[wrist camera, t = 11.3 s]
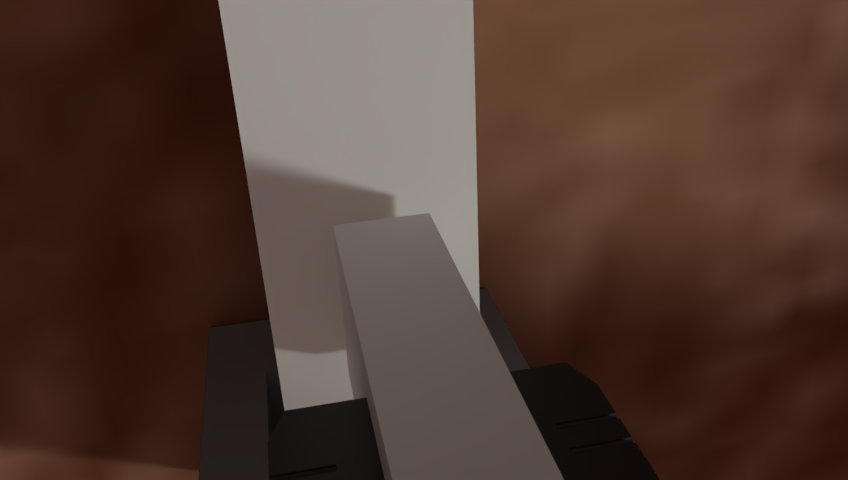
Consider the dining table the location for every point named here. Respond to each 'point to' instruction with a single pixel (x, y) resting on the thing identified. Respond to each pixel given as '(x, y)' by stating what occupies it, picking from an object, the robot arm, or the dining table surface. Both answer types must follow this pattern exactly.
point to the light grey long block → (348, 152)
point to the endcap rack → (271, 394)
